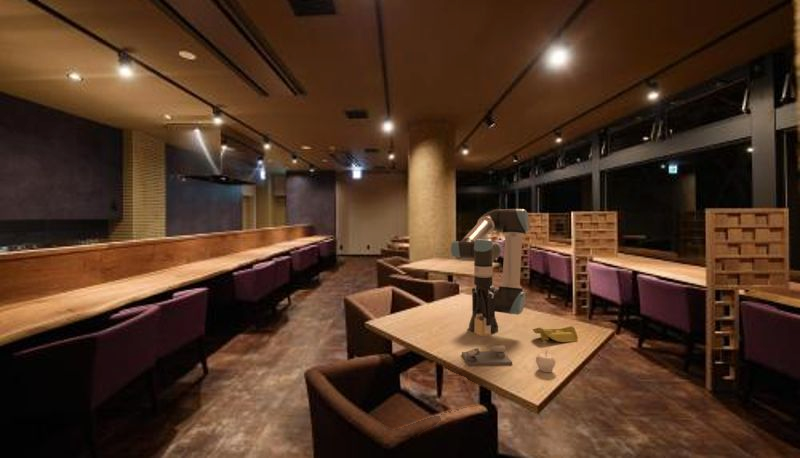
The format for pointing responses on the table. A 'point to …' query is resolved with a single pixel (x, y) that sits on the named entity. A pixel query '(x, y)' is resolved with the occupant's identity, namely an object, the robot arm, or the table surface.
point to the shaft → (472, 355)
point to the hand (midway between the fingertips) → (483, 330)
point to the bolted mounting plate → (490, 357)
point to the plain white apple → (545, 362)
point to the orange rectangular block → (480, 326)
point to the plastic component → (558, 334)
